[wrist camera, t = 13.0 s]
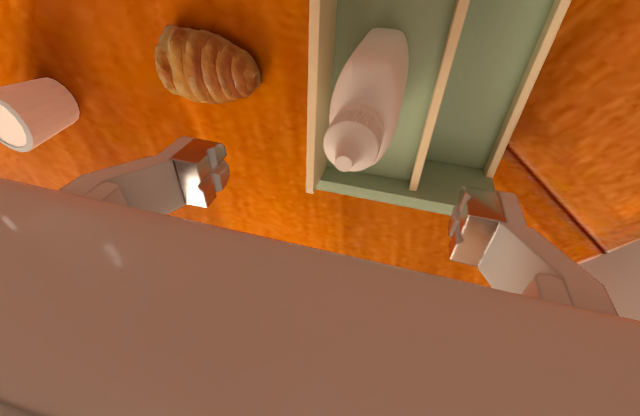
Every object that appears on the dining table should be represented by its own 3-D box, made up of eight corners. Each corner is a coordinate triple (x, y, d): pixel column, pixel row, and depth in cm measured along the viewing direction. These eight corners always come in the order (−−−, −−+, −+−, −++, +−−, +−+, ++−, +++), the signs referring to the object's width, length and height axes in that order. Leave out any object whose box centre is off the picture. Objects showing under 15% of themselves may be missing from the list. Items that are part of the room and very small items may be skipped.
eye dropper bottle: (331, 88, 23) (266, 178, 14) (381, 12, 20) (336, 67, 11) (380, 124, 24) (348, 233, 15) (437, 57, 20) (440, 146, 11)
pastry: (261, 32, 29) (242, 42, 26) (265, 106, 33) (249, 121, 31) (167, 21, 31) (140, 29, 28) (183, 92, 35) (160, 106, 32)
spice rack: (358, -104, 22) (311, -134, 14) (589, -97, 20) (702, -129, 11) (337, 139, 33) (305, 203, 25) (482, 163, 31) (500, 243, 23)
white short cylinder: (91, 105, 39) (37, 129, 34) (76, 137, 43) (26, 163, 38) (37, 58, 37) (-28, 76, 32) (27, 96, 41) (-33, 118, 36)
